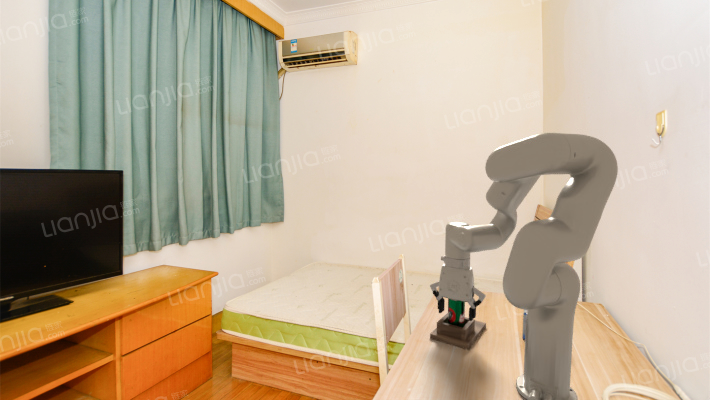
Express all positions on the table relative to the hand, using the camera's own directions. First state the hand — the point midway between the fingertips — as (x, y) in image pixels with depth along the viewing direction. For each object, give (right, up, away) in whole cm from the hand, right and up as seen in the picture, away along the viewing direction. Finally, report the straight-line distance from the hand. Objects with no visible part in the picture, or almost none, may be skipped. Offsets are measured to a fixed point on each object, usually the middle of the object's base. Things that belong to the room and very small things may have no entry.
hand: (456, 315), depth 108 cm
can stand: (+2, -7, +3) cm, 7 cm away
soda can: (0, -5, 0) cm, 6 cm away
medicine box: (+25, -7, -1) cm, 26 cm away
